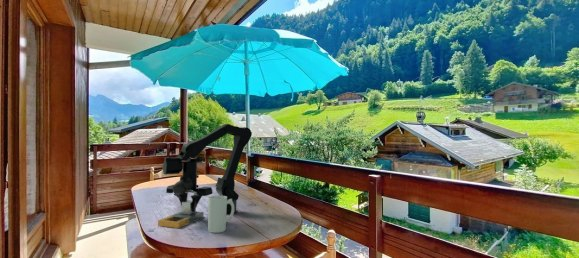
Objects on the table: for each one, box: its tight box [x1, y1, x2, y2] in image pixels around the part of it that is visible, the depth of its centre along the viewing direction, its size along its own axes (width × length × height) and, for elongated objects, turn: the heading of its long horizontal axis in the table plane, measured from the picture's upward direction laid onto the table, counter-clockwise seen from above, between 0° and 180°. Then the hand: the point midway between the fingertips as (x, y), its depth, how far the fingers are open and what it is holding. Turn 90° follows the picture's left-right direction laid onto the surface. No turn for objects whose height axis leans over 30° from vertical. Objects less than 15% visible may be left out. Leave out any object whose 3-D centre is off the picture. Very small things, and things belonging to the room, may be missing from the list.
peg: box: [181, 199, 197, 216], centre depth 129 cm, size 4×4×7 cm
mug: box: [207, 195, 235, 234], centre depth 115 cm, size 10×7×12 cm, turn 123°
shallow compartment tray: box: [157, 211, 205, 229], centre depth 125 cm, size 9×17×2 cm, turn 164°
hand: (188, 210), depth 129 cm, fingers closed on peg, 4 cm apart
